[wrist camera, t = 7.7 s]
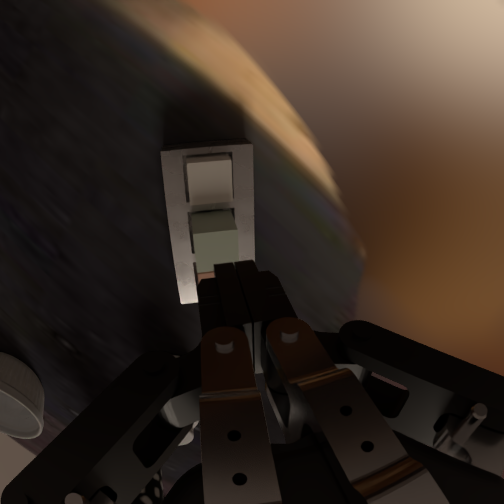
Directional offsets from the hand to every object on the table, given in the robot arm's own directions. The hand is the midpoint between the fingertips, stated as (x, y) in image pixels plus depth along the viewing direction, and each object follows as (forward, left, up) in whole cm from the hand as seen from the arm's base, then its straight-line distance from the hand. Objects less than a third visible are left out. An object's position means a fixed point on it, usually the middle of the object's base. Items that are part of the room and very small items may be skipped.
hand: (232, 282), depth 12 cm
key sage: (0, -4, -15) cm, 15 cm away
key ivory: (0, 0, -17) cm, 17 cm away
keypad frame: (0, -4, -17) cm, 18 cm away
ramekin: (-31, -24, -18) cm, 43 cm away
